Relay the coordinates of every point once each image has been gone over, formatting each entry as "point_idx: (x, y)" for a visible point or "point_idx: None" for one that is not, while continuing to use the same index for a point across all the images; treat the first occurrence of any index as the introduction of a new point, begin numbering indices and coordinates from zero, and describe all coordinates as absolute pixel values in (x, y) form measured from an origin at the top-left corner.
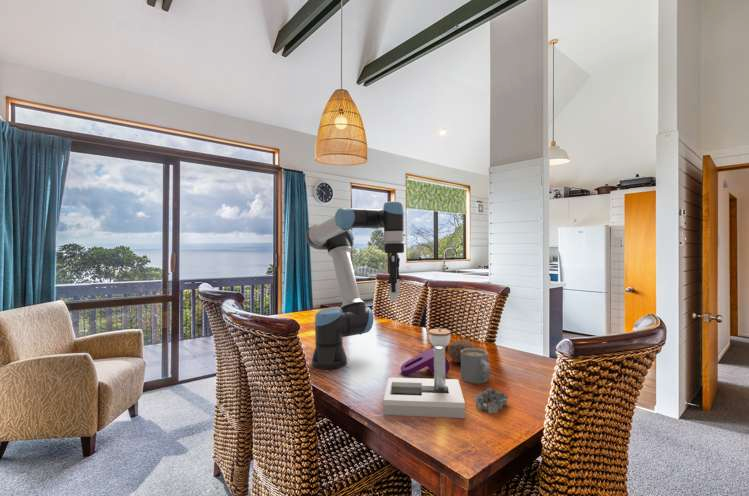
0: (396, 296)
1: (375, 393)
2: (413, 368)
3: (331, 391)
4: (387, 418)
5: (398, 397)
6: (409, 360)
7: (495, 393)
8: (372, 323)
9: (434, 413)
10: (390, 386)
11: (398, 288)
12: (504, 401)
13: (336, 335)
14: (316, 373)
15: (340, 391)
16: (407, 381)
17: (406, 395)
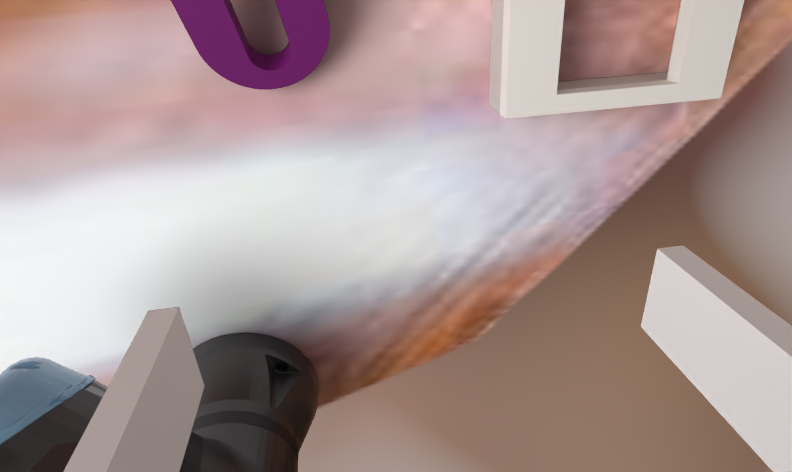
0: (726, 290)
1: (519, 150)
2: (325, 10)
3: (507, 294)
4: None
5: (710, 42)
6: (207, 46)
7: None
8: (22, 374)
9: None
10: (602, 93)
11: (147, 402)
12: None
13: (263, 461)
14: (360, 388)
15: (506, 268)
16: (550, 22)
17: (695, 10)
